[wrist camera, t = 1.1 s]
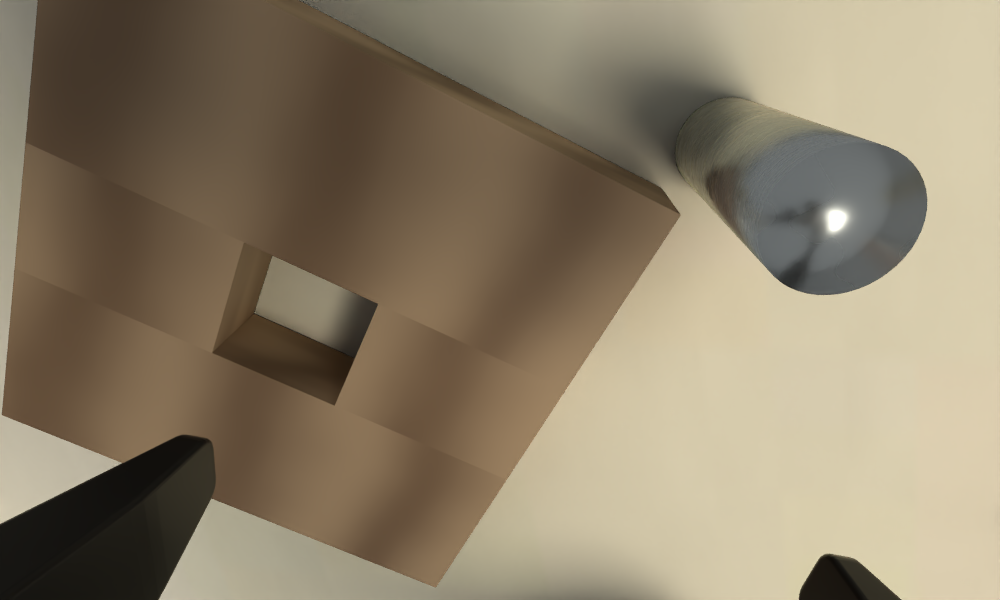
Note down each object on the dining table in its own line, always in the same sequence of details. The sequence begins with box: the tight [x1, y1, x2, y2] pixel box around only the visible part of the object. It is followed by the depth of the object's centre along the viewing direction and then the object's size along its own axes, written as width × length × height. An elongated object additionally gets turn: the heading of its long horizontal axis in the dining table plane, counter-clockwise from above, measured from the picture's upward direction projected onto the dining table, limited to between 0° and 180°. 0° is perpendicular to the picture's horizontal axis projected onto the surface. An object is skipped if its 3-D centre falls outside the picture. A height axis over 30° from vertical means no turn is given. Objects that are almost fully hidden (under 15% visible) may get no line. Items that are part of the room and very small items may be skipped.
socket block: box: [2, 0, 680, 587], centre depth 20 cm, size 18×18×3 cm
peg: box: [675, 97, 927, 295], centre depth 14 cm, size 3×3×8 cm
